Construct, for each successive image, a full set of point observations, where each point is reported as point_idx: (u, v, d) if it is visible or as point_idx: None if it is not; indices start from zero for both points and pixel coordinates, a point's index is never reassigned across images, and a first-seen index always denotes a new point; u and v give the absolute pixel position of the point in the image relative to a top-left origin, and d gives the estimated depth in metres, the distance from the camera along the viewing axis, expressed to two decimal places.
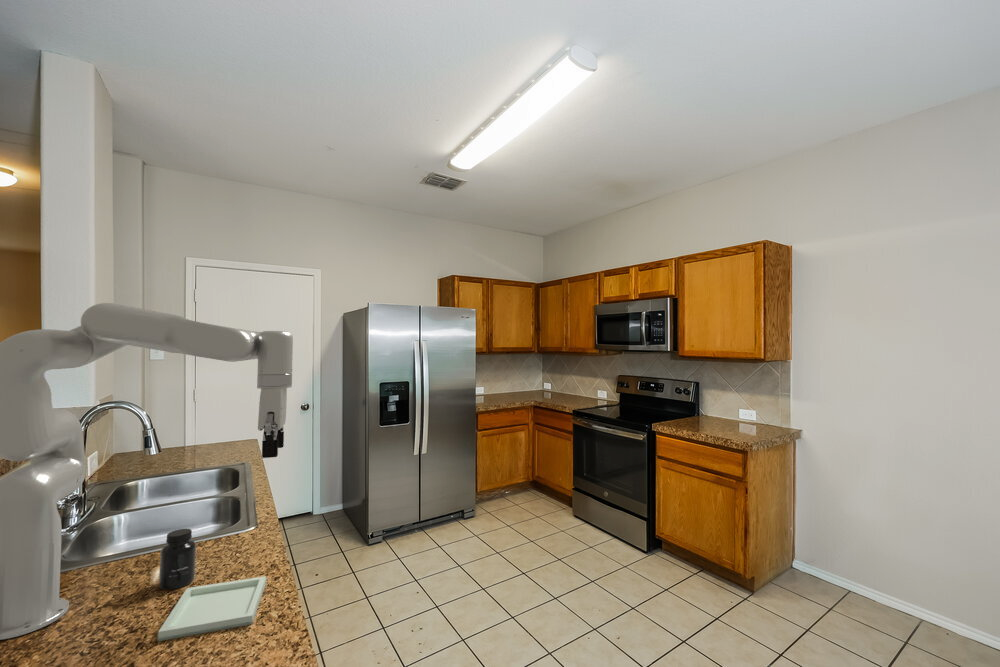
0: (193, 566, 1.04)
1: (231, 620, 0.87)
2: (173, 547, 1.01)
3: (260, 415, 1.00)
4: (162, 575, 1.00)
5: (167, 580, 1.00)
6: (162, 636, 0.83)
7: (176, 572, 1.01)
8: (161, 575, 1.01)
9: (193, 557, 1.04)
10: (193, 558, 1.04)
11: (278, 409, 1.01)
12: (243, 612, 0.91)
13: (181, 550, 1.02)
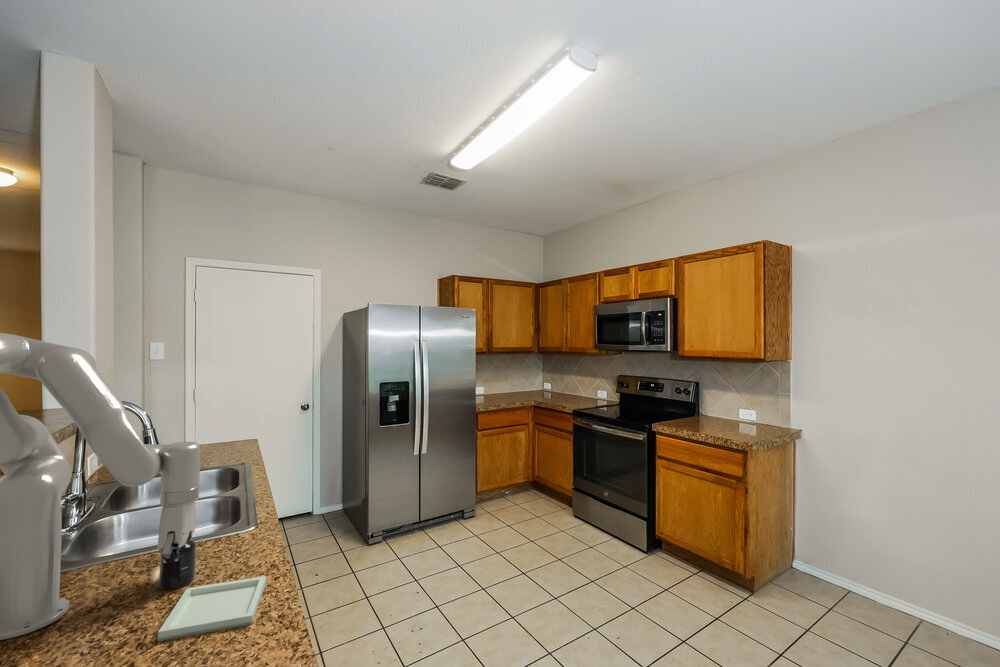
0: (193, 566, 1.04)
1: (231, 620, 0.87)
2: None
3: (160, 535, 0.99)
4: (162, 575, 1.00)
5: (167, 580, 1.00)
6: (162, 636, 0.83)
7: None
8: (161, 575, 1.01)
9: (193, 557, 1.04)
10: (194, 558, 1.04)
11: (179, 527, 1.00)
12: (243, 612, 0.91)
13: (181, 550, 1.02)
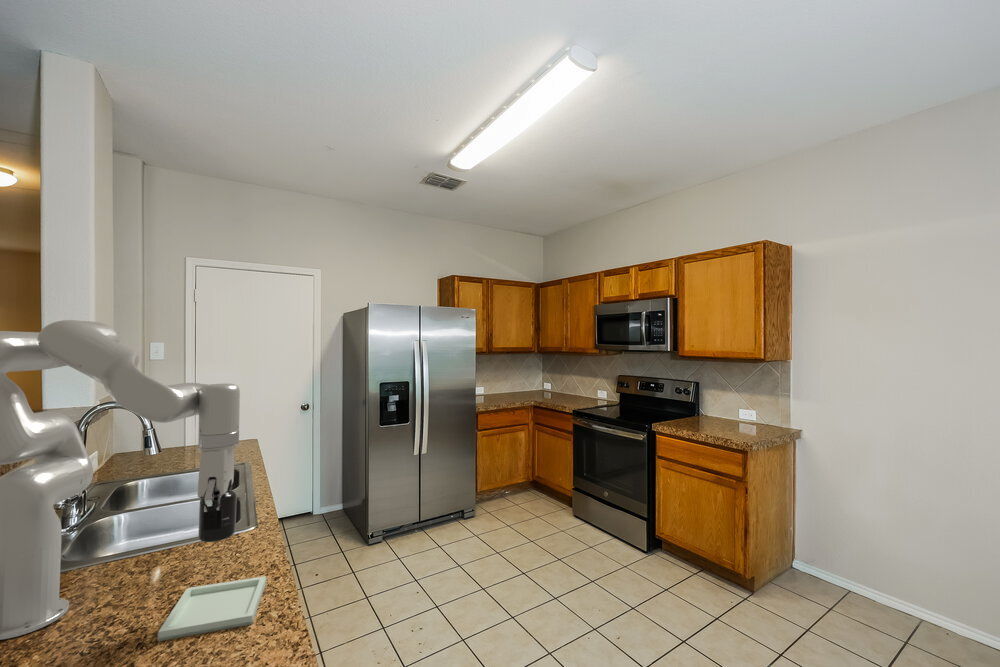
0: (234, 518, 0.96)
1: (231, 620, 0.87)
2: None
3: (200, 481, 0.90)
4: (202, 526, 0.92)
5: (207, 531, 0.91)
6: (162, 636, 0.83)
7: None
8: (201, 526, 0.92)
9: (234, 508, 0.95)
10: (235, 508, 0.96)
11: (220, 473, 0.91)
12: (243, 612, 0.91)
13: (222, 499, 0.93)
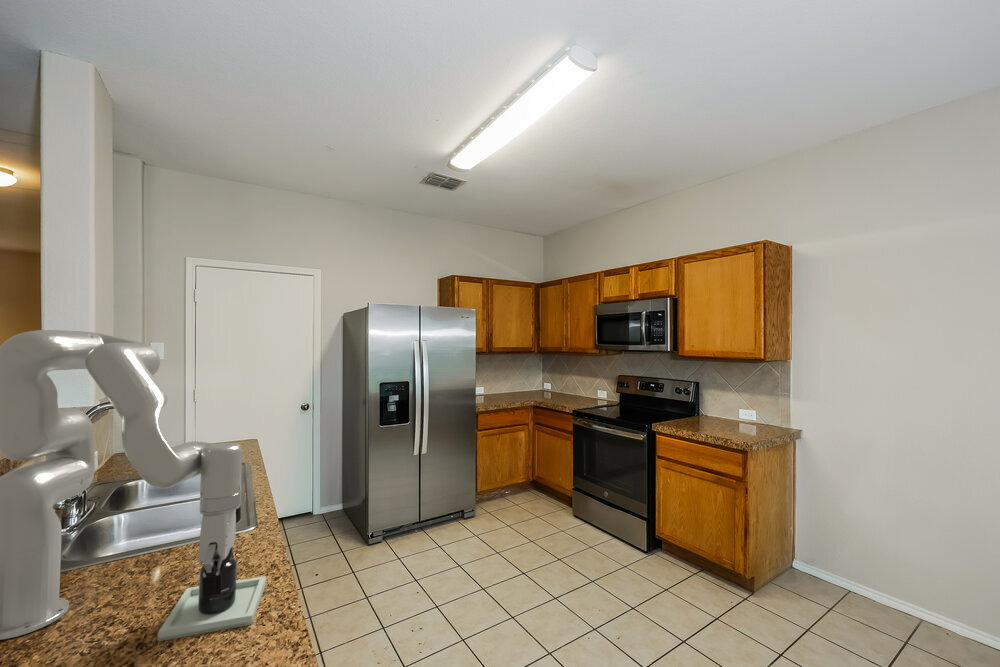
0: (234, 587, 0.94)
1: (231, 620, 0.87)
2: None
3: (201, 547, 0.88)
4: (202, 598, 0.90)
5: (207, 604, 0.90)
6: (162, 636, 0.83)
7: (217, 594, 0.91)
8: (201, 598, 0.91)
9: (234, 577, 0.94)
10: (235, 578, 0.94)
11: (221, 538, 0.90)
12: (243, 612, 0.91)
13: (222, 570, 0.92)
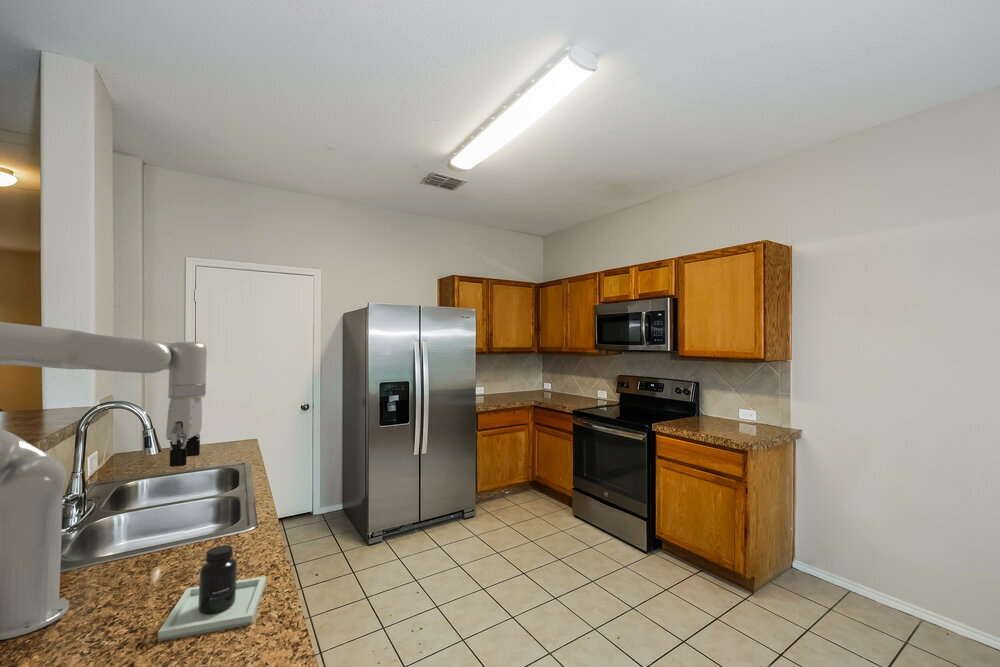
0: (234, 587, 0.94)
1: (231, 620, 0.87)
2: (214, 567, 0.92)
3: (168, 425, 1.02)
4: (202, 598, 0.90)
5: (207, 604, 0.90)
6: (162, 636, 0.83)
7: (217, 594, 0.91)
8: (201, 598, 0.91)
9: (235, 577, 0.94)
10: (235, 578, 0.94)
11: (186, 418, 1.03)
12: (243, 612, 0.91)
13: (222, 570, 0.92)
